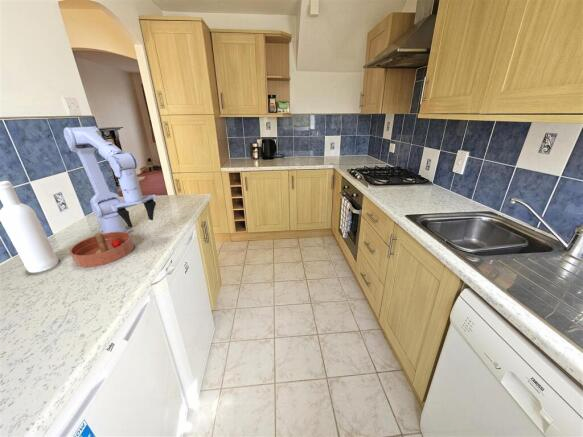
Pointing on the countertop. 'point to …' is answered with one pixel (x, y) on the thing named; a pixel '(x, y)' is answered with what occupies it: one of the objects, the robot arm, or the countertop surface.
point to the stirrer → (102, 243)
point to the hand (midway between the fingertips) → (141, 223)
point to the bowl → (87, 249)
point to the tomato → (116, 243)
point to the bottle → (25, 231)
